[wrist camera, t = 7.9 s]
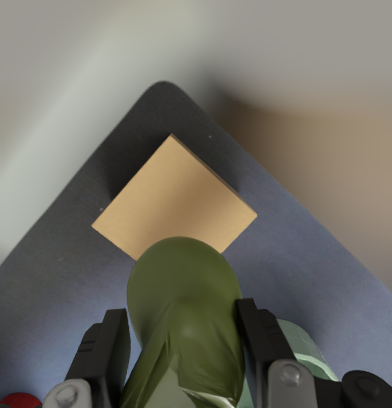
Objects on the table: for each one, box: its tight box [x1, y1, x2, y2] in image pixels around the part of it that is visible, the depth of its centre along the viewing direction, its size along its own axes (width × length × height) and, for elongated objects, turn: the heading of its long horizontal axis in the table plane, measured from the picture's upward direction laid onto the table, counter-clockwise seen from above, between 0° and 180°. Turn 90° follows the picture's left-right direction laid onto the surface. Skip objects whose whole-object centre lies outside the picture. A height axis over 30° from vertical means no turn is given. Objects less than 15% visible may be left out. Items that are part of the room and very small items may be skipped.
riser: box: [91, 133, 258, 261], centre depth 30 cm, size 10×10×8 cm
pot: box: [237, 319, 338, 408], centre depth 37 cm, size 14×14×6 cm
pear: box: [118, 236, 246, 408], centre depth 13 cm, size 6×5×10 cm
